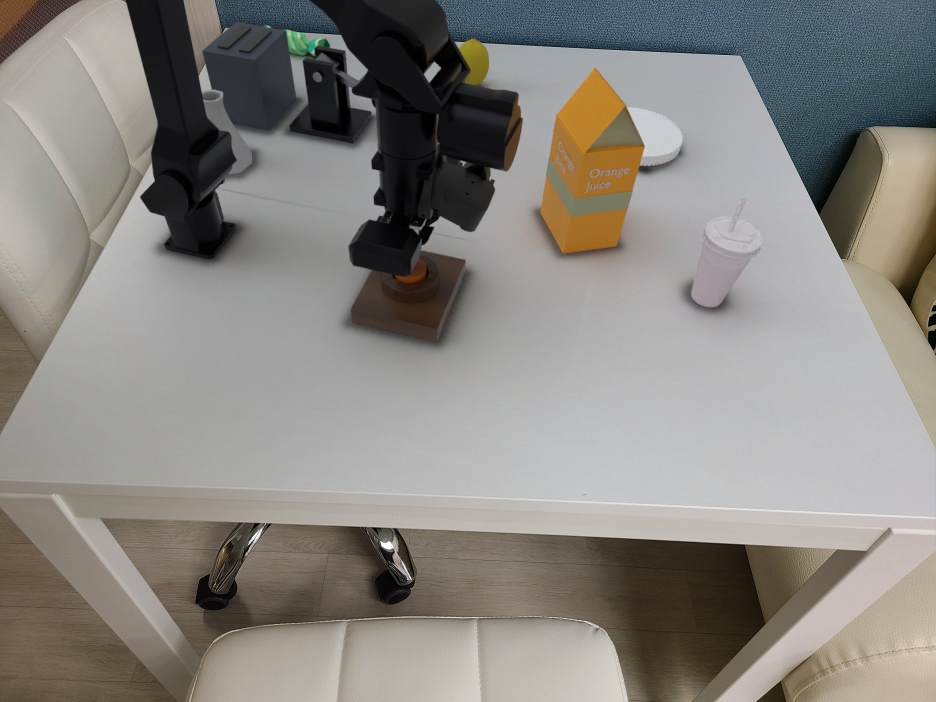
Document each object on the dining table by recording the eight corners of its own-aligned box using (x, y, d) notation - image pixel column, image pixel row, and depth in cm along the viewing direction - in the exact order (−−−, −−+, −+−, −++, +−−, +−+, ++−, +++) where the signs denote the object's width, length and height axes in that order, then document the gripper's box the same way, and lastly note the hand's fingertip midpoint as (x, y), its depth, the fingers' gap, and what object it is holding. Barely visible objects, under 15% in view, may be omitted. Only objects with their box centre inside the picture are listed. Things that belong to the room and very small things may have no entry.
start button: (420, 292, 75) (420, 281, 74) (390, 285, 76) (389, 274, 74) (430, 271, 77) (430, 260, 76) (400, 265, 78) (400, 253, 77)
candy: (332, 48, 117) (323, 34, 113) (325, 66, 117) (316, 52, 113) (273, 34, 120) (262, 19, 116) (266, 51, 119) (255, 37, 115)
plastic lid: (635, 113, 109) (639, 99, 108) (697, 156, 102) (702, 141, 100) (568, 135, 104) (571, 120, 102) (628, 181, 97) (632, 166, 95)
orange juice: (562, 254, 85) (592, 108, 70) (538, 212, 91) (562, 68, 76) (618, 246, 87) (659, 101, 72) (592, 205, 92) (625, 63, 77)
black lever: (392, 108, 99) (399, 90, 97) (385, 119, 97) (392, 101, 95) (318, 67, 98) (323, 48, 95) (309, 77, 96) (314, 58, 93)
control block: (437, 343, 74) (437, 317, 71) (351, 323, 75) (348, 297, 72) (465, 273, 82) (466, 247, 79) (387, 256, 83) (385, 230, 80)
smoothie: (694, 271, 84) (733, 176, 74) (742, 295, 82) (789, 200, 71) (670, 297, 81) (707, 201, 70) (719, 323, 78) (765, 228, 68)
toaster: (268, 132, 100) (254, 57, 92) (219, 122, 101) (201, 48, 93) (296, 100, 107) (286, 28, 98) (250, 91, 108) (235, 19, 99)
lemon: (449, 82, 113) (450, 34, 107) (478, 76, 115) (481, 29, 109) (462, 97, 110) (465, 49, 104) (492, 92, 112) (496, 43, 106)
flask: (260, 150, 97) (246, 84, 89) (244, 179, 92) (228, 112, 85) (210, 145, 97) (193, 79, 90) (192, 174, 92) (172, 106, 85)
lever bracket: (372, 118, 104) (367, 49, 96) (353, 145, 99) (347, 74, 91) (312, 107, 106) (302, 37, 98) (290, 132, 100) (278, 62, 92)
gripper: (464, 218, 56) (456, 342, 68) (511, 110, 68) (498, 231, 80) (339, 192, 58) (353, 318, 70) (407, 91, 70) (409, 213, 82)
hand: (409, 267), depth 75 cm, fingers closed, pressing on start button
